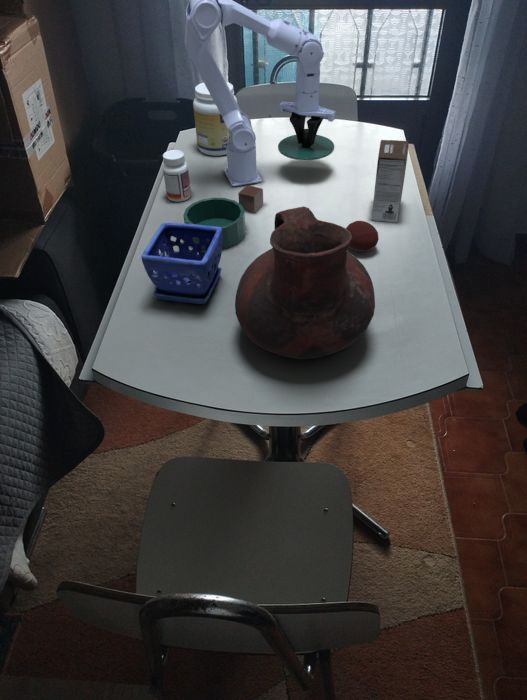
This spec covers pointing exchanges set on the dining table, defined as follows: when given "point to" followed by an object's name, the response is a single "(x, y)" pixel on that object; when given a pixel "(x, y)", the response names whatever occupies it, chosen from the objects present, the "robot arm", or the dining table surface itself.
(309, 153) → the tin lid
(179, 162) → the pill bottle
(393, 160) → the coffee box
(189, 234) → the flower pot
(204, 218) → the tin
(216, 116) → the supplement tub
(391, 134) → the dining table surface
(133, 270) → the dining table surface
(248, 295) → the jug
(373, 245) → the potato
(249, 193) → the block
